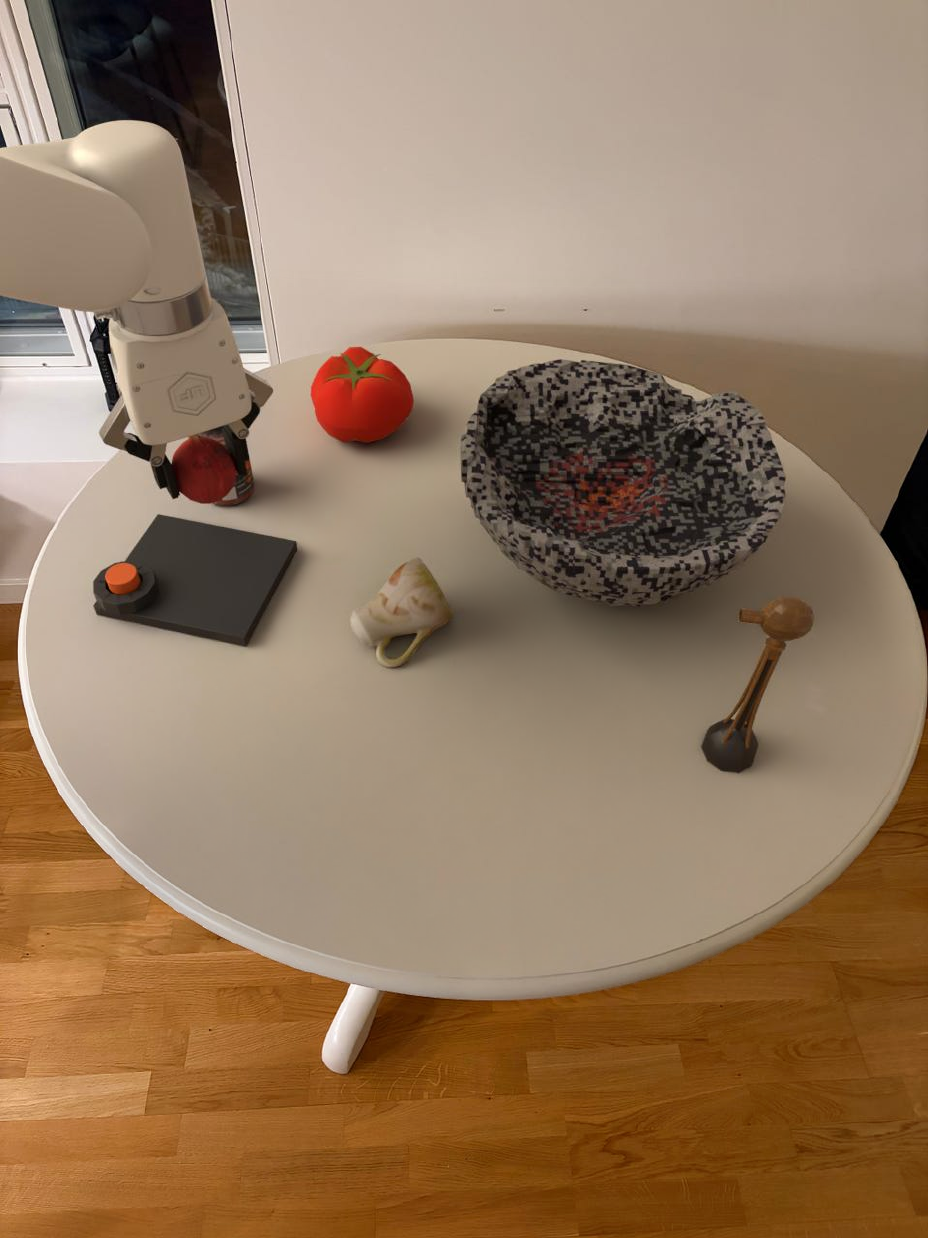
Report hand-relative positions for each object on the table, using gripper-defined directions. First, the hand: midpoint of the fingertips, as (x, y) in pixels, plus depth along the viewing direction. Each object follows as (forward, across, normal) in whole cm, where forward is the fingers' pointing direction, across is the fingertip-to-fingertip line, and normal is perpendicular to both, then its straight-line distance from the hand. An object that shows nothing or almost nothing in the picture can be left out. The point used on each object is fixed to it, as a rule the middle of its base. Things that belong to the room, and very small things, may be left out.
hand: (204, 476), depth 84 cm
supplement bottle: (+14, +5, +13) cm, 19 cm away
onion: (+3, 0, 0) cm, 3 cm away
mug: (+14, +12, -16) cm, 24 cm away
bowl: (+14, +36, -17) cm, 42 cm away
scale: (+13, -3, +1) cm, 14 cm away
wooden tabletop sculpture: (+14, +30, -42) cm, 54 cm away
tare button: (+11, -10, +1) cm, 15 cm away
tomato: (+14, +24, +16) cm, 32 cm away
